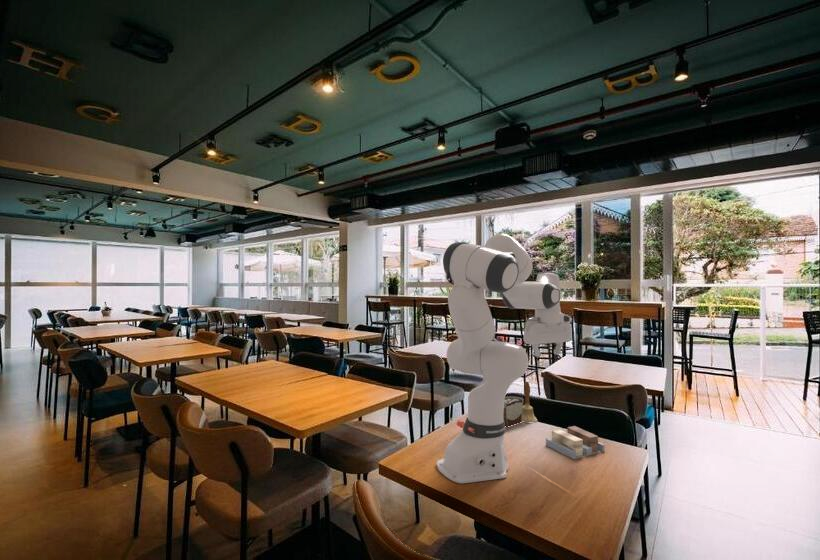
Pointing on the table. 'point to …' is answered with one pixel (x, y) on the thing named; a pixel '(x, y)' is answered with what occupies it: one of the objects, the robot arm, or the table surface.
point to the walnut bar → (584, 437)
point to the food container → (512, 410)
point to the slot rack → (571, 453)
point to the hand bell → (527, 406)
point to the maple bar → (568, 441)
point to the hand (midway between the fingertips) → (547, 355)
